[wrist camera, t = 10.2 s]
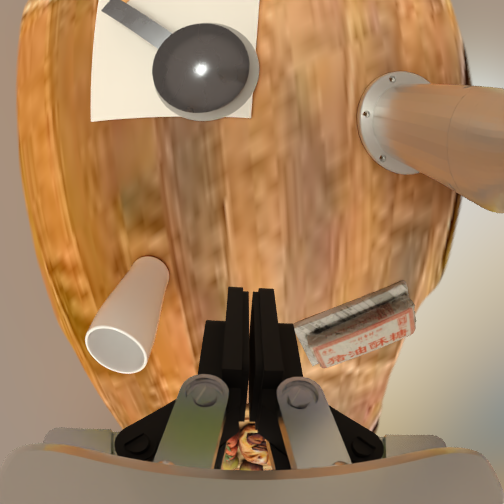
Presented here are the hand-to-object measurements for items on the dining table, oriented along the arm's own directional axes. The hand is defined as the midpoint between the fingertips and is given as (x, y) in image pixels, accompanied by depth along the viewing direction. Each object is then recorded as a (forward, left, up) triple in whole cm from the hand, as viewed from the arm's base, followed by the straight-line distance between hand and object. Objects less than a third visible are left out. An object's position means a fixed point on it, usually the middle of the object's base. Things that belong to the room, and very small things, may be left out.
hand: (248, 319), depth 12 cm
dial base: (+9, -15, -25) cm, 31 cm away
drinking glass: (+12, +14, -25) cm, 31 cm away
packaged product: (-18, +22, -26) cm, 38 cm away
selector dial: (+8, -14, -23) cm, 28 cm away
